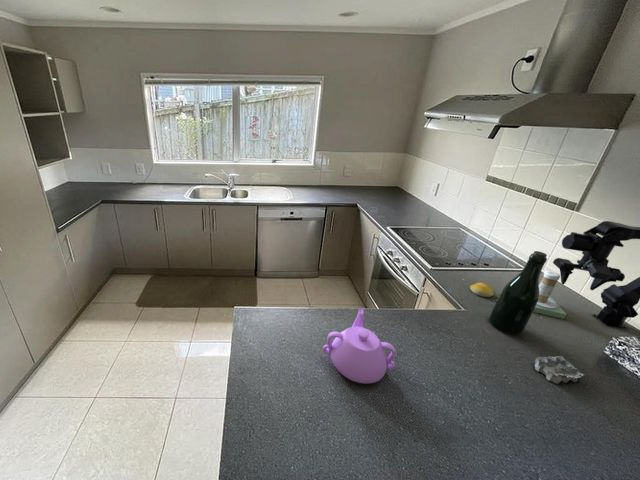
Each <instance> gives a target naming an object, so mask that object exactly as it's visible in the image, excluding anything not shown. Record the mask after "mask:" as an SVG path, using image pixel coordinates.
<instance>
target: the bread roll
mask: <svg viewBox="0 0 640 480" xmlns="http://www.w3.org/2000/svg"><path fill="white" fill-rule="evenodd" d="M469 289H470V291H471V292H472V293H474V294H475V295H477V296H479V297H482V298H483V297H484V298H490V297H492V296H494V295H495V290H494V288H493V287H492V286H491V285H489V284H488V283H485V282H476V283H474V284H471V285H470V286H469Z"/></svg>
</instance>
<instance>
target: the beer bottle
mask: <svg viewBox="0 0 640 480" xmlns="http://www.w3.org/2000/svg"><path fill="white" fill-rule="evenodd" d="M547 257H548V254H547V253H546V252H542V251H539V250H538V251H537V250H535V251H533V253H531V254H530V255H529V257H528V259H527V262H526V263H525V264H524V267H523V269H522V270H521V271H520V272H519V273H518V274H517V275H515V277H513V278H512V279H511V280H509V281H508V282H507V283H506V284H505V285H504V287H503V288H502V290H501V292H500V293H499V296H498V298H497V300H496V301H495V303H494V306H493V308H492V310H491V312H490V314H489V316H488V321H489V323H490V324H491V325H492V326H493V327H494V328H496V329H497V330H499V331H501V332H503V333H505V334H508V335H513V336H518V335H521V334H523V332H524V331H525V329H526V327H527V326H528V323H529V321H530V319H531V317H532V315H533V313H534V312H533V311H534V309H535V307H536V304H537V302H538V299H539V284H540V282H539V281H540V275H541V273H542V270H543V268H544V266H545V264H546V263H547V261H548V260H547Z"/></svg>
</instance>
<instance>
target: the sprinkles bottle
mask: <svg viewBox="0 0 640 480" xmlns="http://www.w3.org/2000/svg"><path fill="white" fill-rule="evenodd" d="M560 279H561V274H559V273H557V272H555V271H552V270H546V271H544V273H543V277H542V278H541V280H540V282H539V299H538V301H539V302H544V303H545V302H547V300H548V298H549V297H551V295H552V293H553V291H554V289H555V287H556V285H557V283H558V281H559V280H560Z"/></svg>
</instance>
